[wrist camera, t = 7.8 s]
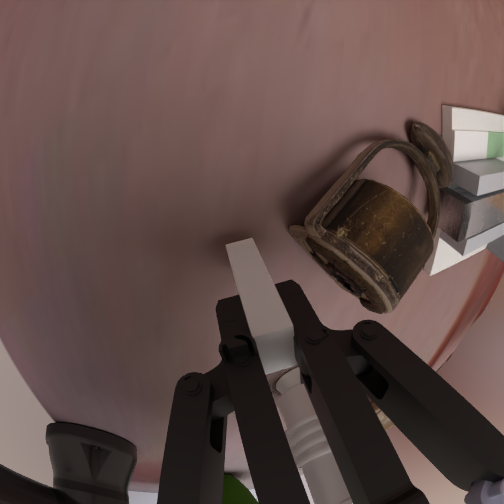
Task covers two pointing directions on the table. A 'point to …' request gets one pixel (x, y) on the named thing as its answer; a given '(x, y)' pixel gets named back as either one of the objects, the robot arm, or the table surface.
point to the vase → (236, 492)
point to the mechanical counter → (378, 224)
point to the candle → (310, 442)
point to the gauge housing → (471, 179)
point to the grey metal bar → (469, 211)
